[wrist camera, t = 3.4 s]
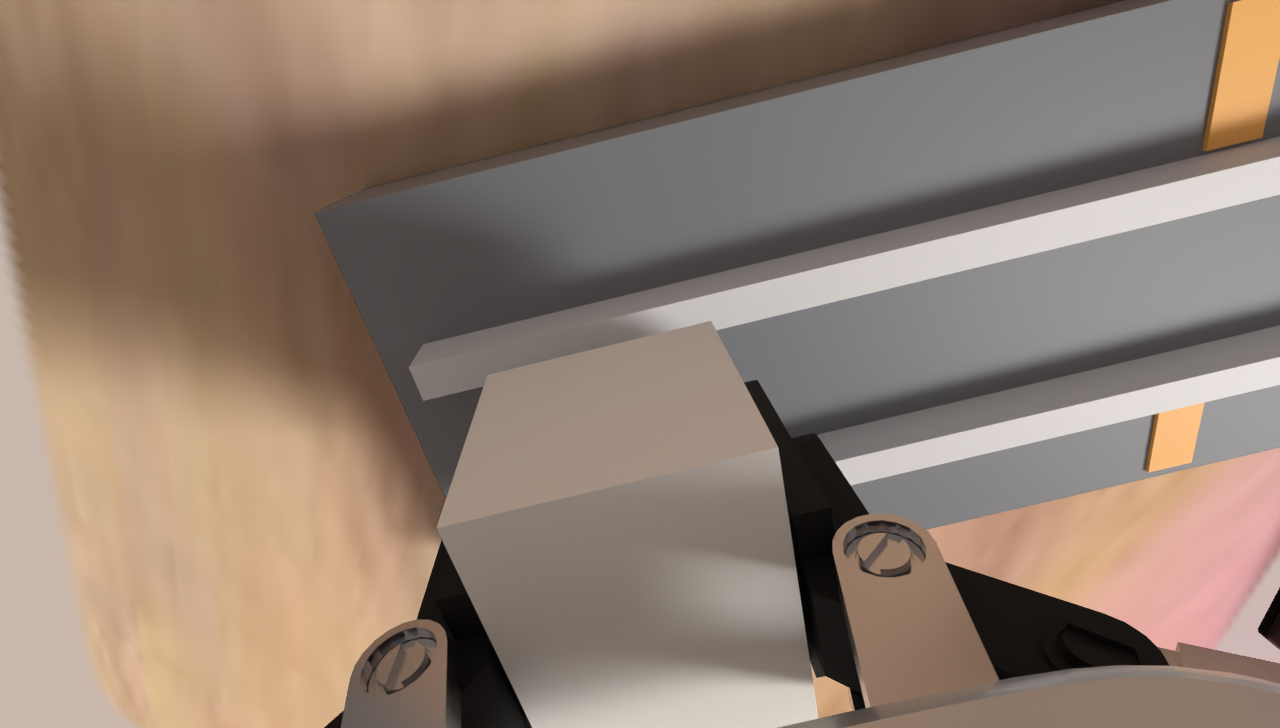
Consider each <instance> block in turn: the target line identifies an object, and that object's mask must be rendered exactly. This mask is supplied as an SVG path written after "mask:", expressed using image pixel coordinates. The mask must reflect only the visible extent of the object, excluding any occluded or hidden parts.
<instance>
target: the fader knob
mask: <svg viewBox="0 0 1280 728" xmlns="http://www.w3.org/2000/svg"><path fill="white" fill-rule="evenodd" d="M436 529H437V531H438V533H439V535H440V537H441V539H442V541H443V543H444V545H445V547H446V549H447V552H448V554H449V556H450V558H451V560H452V562H453V564H454V566H455V568H456V570H457V572H458V574H459V577H460V579H461V581H462V583H463V585H464V587H465V589H466V591H467V593H468V595H469V597H470V599H471V601H472V604H473V606H474V608H475V610H476V612H477V614H478V616H479V618H480V620H481V622H482V624H483V626H484V628H485V631H486V633H487V635H488V637H489V639H490V641H491V643H492V645H493V647H494V649H495V651H496V653H497V655H498V658H499V660H500V662H501V664H502V666H503V668H504V670H505V672H506V674H507V676H508V678H509V680H510V682H511V685H512V687H513V689H514V691H515V693H516V695H517V697H518V699H519V701H520V703H521V705H522V707H523V709H524V712H525V714H526V716H527V718H528V720H529V722H530V724H531V726H532V728H778V727H782V726H787V725H791V724H796V723H800V722H805V721H810V720H814V719H818V713H817V706H816V699H815V693H814V686H813V679H812V672H811V666H810V659H809V652H808V645H807V638H806V632H805V625H804V618H803V611H802V605H801V598H800V591H799V584H798V577H797V571H796V564H795V557H794V550H793V544H792V537H791V530H790V523H789V516H788V510H787V503H786V496H785V489H784V483H783V476H782V469H781V462H780V456H779V449H778V446H777V444H776V442H775V440H774V438H773V436H772V435H771V433H770V431H769V429H768V427H767V425H766V423H765V421H764V420H763V418H762V416H761V414H760V412H759V410H758V408H757V406H756V404H755V403H754V401H753V399H752V397H751V395H750V393H749V391H748V389H747V388H746V386H745V384H744V382H743V380H742V378H741V376H740V374H739V372H738V371H737V369H736V367H735V365H734V363H733V361H732V359H731V357H730V356H729V354H728V352H727V350H726V348H725V346H724V344H723V342H722V340H721V339H720V337H719V335H718V333H717V331H716V329H715V327H714V325H713V324H712V322H711V321H708V322H704V323H700V324H696V325H692V326H688V327H684V328H679V329H675V330H671V331H667V332H663V333H659V334H655V335H650V336H646V337H642V338H638V339H634V340H630V341H626V342H621V343H617V344H613V345H609V346H605V347H601V348H597V349H592V350H588V351H584V352H580V353H576V354H572V355H568V356H563V357H559V358H555V359H551V360H547V361H543V362H539V363H534V364H530V365H526V366H522V367H518V368H514V369H510V370H505V371H501V372H497V373H493V374H489V375H487V378H486V381H485V384H484V387H483V390H482V393H481V396H480V399H479V402H478V405H477V408H476V411H475V414H474V417H473V420H472V423H471V426H470V429H469V432H468V435H467V438H466V441H465V444H464V447H463V450H462V453H461V456H460V459H459V462H458V465H457V468H456V471H455V474H454V477H453V480H452V483H451V486H450V489H449V492H448V495H447V498H446V501H445V504H444V507H443V510H442V513H441V516H440V519H439V522H438V525H437V528H436Z"/></svg>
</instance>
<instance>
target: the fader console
mask: <svg viewBox="0 0 1280 728" xmlns="http://www.w3.org/2000/svg"><path fill="white" fill-rule="evenodd" d="M315 216H316V218H317V220H318V222H319V224H320V227H321V229H322V231H323V233H324V235H325V237H326V240H327V242H328V244H329V246H330V248H331V250H332V253H333V255H334V257H335V259H336V261H337V264H338V266H339V268H340V270H341V272H342V274H343V277H344V279H345V281H346V283H347V285H348V287H349V290H350V292H351V294H352V296H353V298H354V301H355V303H356V305H357V307H358V309H359V311H360V314H361V316H362V318H363V320H364V322H365V324H366V327H367V329H368V331H369V333H370V335H371V337H372V340H373V342H374V344H375V346H376V348H377V351H378V353H379V355H380V357H381V359H382V361H383V364H384V366H385V368H386V370H387V372H388V374H389V377H390V379H391V381H392V383H393V385H394V388H395V390H396V392H397V394H398V396H399V398H400V401H401V403H402V405H403V407H404V409H405V411H406V414H407V416H408V418H409V420H410V422H411V425H412V427H413V429H414V431H415V433H416V435H417V438H418V440H419V442H420V444H421V446H422V448H423V451H424V453H425V455H426V457H427V459H428V461H429V464H430V466H431V468H432V470H433V472H434V475H435V477H436V479H437V481H438V483H439V485H440V488H441V490H442V492H443V494H444V496H445V498H447V495H448V492H449V489H450V486H451V483H452V480H453V477H454V474H455V471H456V468H457V465H458V462H459V459H460V456H461V453H462V450H463V447H464V444H465V441H466V438H467V435H468V432H469V429H470V426H471V423H472V420H473V417H474V414H475V411H476V408H477V405H478V402H479V399H480V396H481V393H482V390H483V387H484V384H485V381H486V378H487V375H489V374H493V373H497V372H501V371H505V370H510V369H514V368H518V367H522V366H526V365H530V364H534V363H539V362H543V361H547V360H551V359H555V358H559V357H563V356H568V355H572V354H576V353H580V352H584V351H588V350H592V349H597V348H601V347H605V346H609V345H613V344H617V343H621V342H626V341H630V340H634V339H638V338H642V337H646V336H650V335H655V334H659V333H663V332H667V331H671V330H675V329H679V328H684V327H688V326H692V325H696V324H700V323H704V322H708V321H711V322H712V324H713V325H714V327H715V329H716V331H717V333H718V335H719V337H720V339H721V340H722V342H723V344H724V346H725V348H726V350H727V352H728V354H729V356H730V357H731V359H732V361H733V363H734V365H735V367H736V369H737V371H738V372H739V374H740V376H741V378H742V380H743V382H748V381H753V380H758V381H759V383H760V385H761V387H762V388H763V390H764V392H765V393H766V395H767V397H768V399H769V400H770V402H771V404H772V405H773V407H774V409H775V411H776V412H777V414H778V416H779V418H780V419H781V421H782V423H783V424H784V426H785V428H786V430H787V431H788V433H789V435H790V436H791V438H794V437H798V436H802V435H806V434H811V433H815V434H816V435H817V436H818V437H819V438H820V440H821V441H822V443H823V444H824V446H825V447H826V449H827V450H828V452H829V453H830V455H831V456H832V458H833V460H834V461H835V463H836V464H837V466H838V467H839V469H840V470H841V472H842V473H843V475H844V476H845V478H846V479H847V481H848V482H849V484H850V485H851V487H852V488H853V490H854V491H855V493H856V494H857V496H858V497H859V499H860V500H861V502H862V503H863V505H864V507H865V508H866V510H867V511H868V513H869V514H891V515H895V516H900V517H904V518H906V519H908V520H911V521H913V522H915V523H917V524H919V525H920V526H921V527H923V528H924V529H925V530H927V529H931V528H936V527H940V526H944V525H949V524H953V523H957V522H961V521H966V520H970V519H974V518H979V517H983V516H987V515H992V514H996V513H1000V512H1004V511H1009V510H1013V509H1017V508H1022V507H1026V506H1030V505H1035V504H1039V503H1043V502H1048V501H1052V500H1056V499H1060V498H1065V497H1069V496H1073V495H1078V494H1082V493H1086V492H1091V491H1095V490H1099V489H1103V488H1108V487H1112V486H1116V485H1121V484H1125V483H1129V482H1134V481H1138V480H1142V479H1146V478H1151V477H1155V476H1159V475H1164V474H1168V473H1172V472H1177V471H1181V470H1185V469H1190V468H1194V467H1198V466H1202V465H1207V464H1211V463H1215V462H1220V461H1224V460H1228V459H1233V458H1237V457H1241V456H1245V455H1250V454H1254V453H1258V452H1263V451H1267V450H1271V449H1276V448H1280V0H1122V1H1118V2H1114V3H1110V4H1106V5H1102V6H1098V7H1094V8H1090V9H1086V10H1082V11H1078V12H1074V13H1070V14H1066V15H1062V16H1058V17H1054V18H1050V19H1046V20H1042V21H1038V22H1034V23H1030V24H1026V25H1022V26H1018V27H1014V28H1010V29H1006V30H1002V31H998V32H994V33H990V34H986V35H982V36H978V37H974V38H970V39H966V40H962V41H958V42H953V43H949V44H945V45H941V46H937V47H933V48H929V49H925V50H921V51H917V52H913V53H909V54H905V55H901V56H897V57H893V58H889V59H885V60H881V61H877V62H873V63H869V64H865V65H861V66H857V67H853V68H849V69H845V70H841V71H837V72H833V73H829V74H825V75H821V76H817V77H813V78H809V79H805V80H801V81H797V82H793V83H789V84H785V85H781V86H777V87H773V88H769V89H764V90H760V91H756V92H752V93H748V94H744V95H740V96H736V97H732V98H728V99H724V100H720V101H716V102H712V103H708V104H704V105H700V106H696V107H692V108H688V109H684V110H680V111H676V112H672V113H668V114H664V115H660V116H656V117H652V118H648V119H644V120H640V121H636V122H632V123H628V124H624V125H620V126H616V127H612V128H608V129H604V130H600V131H596V132H592V133H588V134H584V135H580V136H575V137H571V138H567V139H563V140H559V141H555V142H551V143H547V144H543V145H539V146H535V147H531V148H527V149H523V150H519V151H515V152H511V153H507V154H503V155H499V156H495V157H491V158H487V159H483V160H479V161H475V162H471V163H467V164H463V165H459V166H455V167H451V168H447V169H443V170H439V171H435V172H431V173H427V174H423V175H419V176H415V177H411V178H407V179H403V180H399V181H395V182H391V183H387V184H382V185H378V186H374V187H370V188H366V189H363V190H361V191H359V192H357V193H355V194H353V195H351V196H349V197H347V198H345V199H342V200H340V201H338V202H336V203H334V204H332V205H330V206H328V207H326V208H324V209H322V210H319V211H317V212H315Z"/></svg>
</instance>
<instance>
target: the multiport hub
mask: <svg viewBox="0 0 1280 728" xmlns="http://www.w3.org/2000/svg"><path fill="white" fill-rule="evenodd" d="M1258 632H1259V633H1260V634H1261V635H1262V636H1263V637H1265V638H1266V639H1267V640H1268V641H1270V642H1271V643H1272V644H1273V645H1275V646H1276V647H1277V648H1278V649H1280V588H1279V590H1278V592H1277V594H1276V595H1275V597H1274V599H1273V601H1272V603H1271V605H1270V607H1269V608H1268V610H1267V612H1266V614H1265V616H1264V618H1263V620H1262V622H1261V624H1260V625H1259V628H1258Z"/></svg>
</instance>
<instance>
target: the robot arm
mask: <svg viewBox="0 0 1280 728" xmlns="http://www.w3.org/2000/svg"><path fill="white" fill-rule="evenodd" d="M744 384H745V386H746V388H747V389H748V391H749V393H750V395H751V397H752V399H753V401H754V403H755V404H756V406H757V408H758V410H759V412H760V414H761V416H762V418H763V420H764V421H765V423H766V425H767V427H768V429H769V431H770V433H771V435H772V436H773V438H774V440H775V442H776V444H777V446H778V449H779V456H780V462H781V469H782V476H783V483H784V489H785V496H786V503H787V510H788V516H789V523H790V530H791V537H792V544H793V550H794V557H795V564H796V571H797V577H798V584H799V591H800V598H801V605H802V611H803V618H804V625H805V632H806V638H807V645H808V652H809V659H810V662H811V664H812V667H813V670H814V672H815V675H816V677H817V678H818V677H823V676H827V677H829V678H831V679H833V680H835V681H837V682H839V683H841V684H843V685H845V686H847V687H848V694H849V699H850V704H851V708H852V711H850V712H846V713H841V714H837V715H832V716H828V717H823V718H819V719H814V720H810V721H805V722H800V723H796V724H791V725H787V726H782V727H778V728H1280V664H1279V663H1275V662H1270V661H1265V660H1260V659H1256V658H1251V657H1246V656H1241V655H1237V654H1232V653H1227V652H1222V651H1217V650H1213V649H1208V648H1203V647H1198V646H1194V645H1189V644H1184V643H1179V642H1178V643H1177V647H1176V651H1173V650H1168V649H1163V648H1159V647H1157V646H1156V645H1154V644H1153V643H1152V642H1151V641H1150V640H1149V639H1148V638H1147V637H1146V636H1145V635H1144V634H1142V633H1141V632H1139V631H1138V630H1136V629H1135V628H1133V627H1131V626H1130V625H1128V624H1127V623H1125V622H1123V621H1120V620H1118V619H1116V618H1113V617H1111V616H1108V615H1106V614H1103V613H1100V612H1097V611H1094V610H1091V609H1088V608H1085V607H1082V606H1079V605H1076V604H1073V603H1069V602H1066V601H1063V600H1060V599H1057V598H1054V597H1051V596H1048V595H1045V594H1042V593H1039V592H1036V591H1032V590H1029V589H1026V588H1023V587H1020V586H1017V585H1014V584H1011V583H1008V582H1005V581H1002V580H998V579H995V578H992V577H989V576H986V575H983V574H980V573H977V572H974V571H971V570H968V569H965V568H961V567H958V566H955V565H952V564H949V563H946V562H945V561H944V559H943V556H942V554H941V552H940V550H939V548H938V546H937V543H936V542H935V540H934V539H933V538H932V536H931V535H930V533H929V532H928V531H927V530H925V529H924V528H923V527H921V526H920V525H919V524H917V523H915V522H913V521H911V520H908V519H906V518H904V517H900V516H895V515H891V514H869V513H868V511H867V510H866V508H865V507H864V505H863V503H862V502H861V500H860V499H859V497H858V496H857V494H856V493H855V491H854V490H853V488H852V487H851V485H850V484H849V482H848V481H847V479H846V478H845V476H844V475H843V473H842V472H841V470H840V469H839V467H838V466H837V464H836V463H835V461H834V460H833V458H832V456H831V455H830V453H829V452H828V450H827V449H826V447H825V446H824V444H823V443H822V441H821V440H820V438H819V437H818V436H817V435H816V434H815V433H811V434H806V435H802V436H798V437H794V438H791V436H790V435H789V433H788V431H787V430H786V428H785V426H784V424H783V423H782V421H781V419H780V418H779V416H778V414H777V412H776V411H775V409H774V407H773V405H772V404H771V402H770V400H769V399H768V397H767V395H766V393H765V392H764V390H763V388H762V387H761V385H760V383H759V381H758V380H753V381H748V382H744ZM324 728H532V726H531V724H530V722H529V720H528V718H527V716H526V714H525V712H524V709H523V707H522V705H521V703H520V701H519V699H518V697H517V695H516V693H515V691H514V689H513V687H512V685H511V682H510V680H509V678H508V676H507V674H506V672H505V670H504V668H503V666H502V664H501V662H500V660H499V658H498V655H497V653H496V651H495V649H494V647H493V645H492V643H491V641H490V639H489V637H488V635H487V633H486V631H485V628H484V626H483V624H482V622H481V620H480V618H479V616H478V614H477V612H476V610H475V608H474V606H473V604H472V601H471V599H470V597H469V595H468V593H467V591H466V589H465V587H464V585H463V583H462V581H461V579H460V577H459V574H458V572H457V570H456V568H455V566H454V564H453V562H452V560H451V558H450V556H449V554H448V552H447V549H446V547H445V545H444V543H443V541H442V540H441V544H440V547H439V550H438V553H437V556H436V560H435V563H434V566H433V569H432V572H431V576H430V579H429V582H428V585H427V588H426V592H425V595H424V598H423V601H422V604H421V608H420V611H419V614H418V617H417V620H413V621H409V622H406V623H403V624H401V625H398V626H396V627H394V628H392V629H390V630H389V631H387V632H386V633H384V634H383V635H382V636H380V637H379V638H378V639H376V640H375V641H374V642H373V643H372V644H371V645H370V646H369V647H368V648H367V649H366V650H365V651H364V652H363V654H362V655H361V657H360V658H359V660H358V661H357V663H356V664H355V667H354V669H353V672H352V675H351V678H350V682H349V687H348V692H347V697H346V702H345V708H344V711H343V712H342V713H340V714H339V715H338V716H337V717H336V718H335V719H334V720H332V721H331V722H330V723H329V724H328V725H327V726H326V727H324Z"/></svg>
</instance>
